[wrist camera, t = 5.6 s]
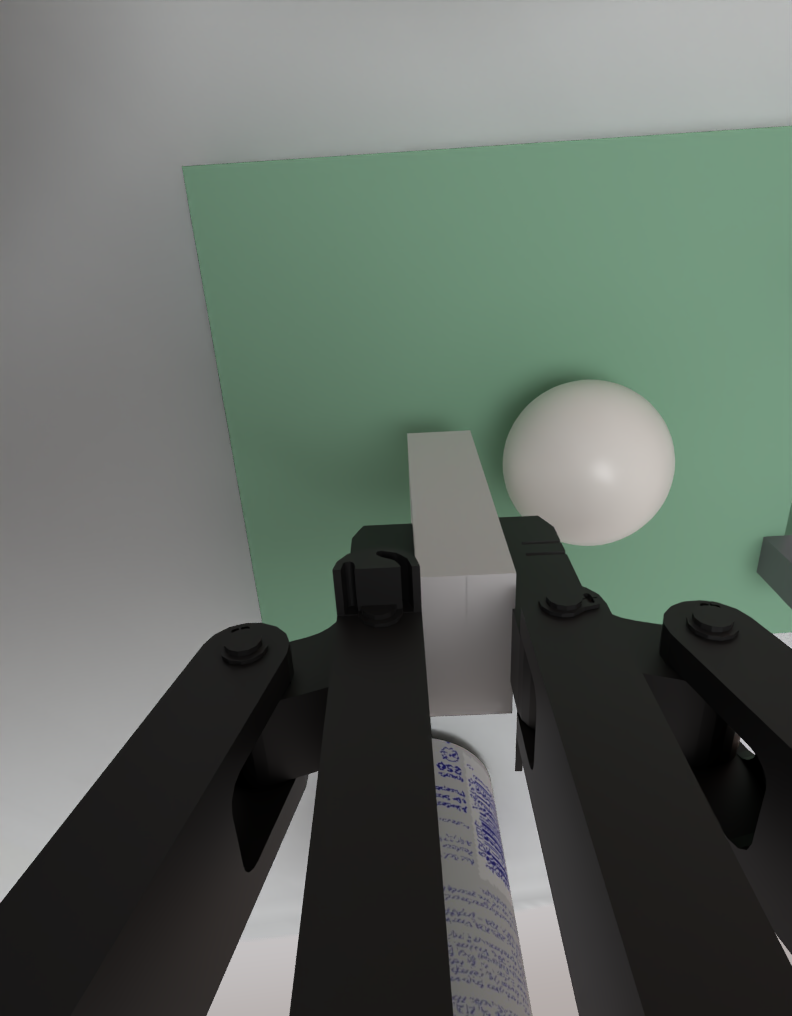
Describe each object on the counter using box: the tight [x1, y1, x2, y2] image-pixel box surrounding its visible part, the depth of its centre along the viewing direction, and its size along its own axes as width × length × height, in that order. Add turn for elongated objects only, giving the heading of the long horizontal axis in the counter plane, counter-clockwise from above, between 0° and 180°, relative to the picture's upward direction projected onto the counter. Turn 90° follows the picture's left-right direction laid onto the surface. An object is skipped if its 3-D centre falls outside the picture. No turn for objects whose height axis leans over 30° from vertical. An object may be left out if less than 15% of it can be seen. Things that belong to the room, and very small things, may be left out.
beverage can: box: [432, 738, 532, 1016], centre depth 20 cm, size 6×6×15 cm
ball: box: [503, 380, 675, 546], centre depth 16 cm, size 4×4×4 cm
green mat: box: [182, 126, 792, 642], centre depth 19 cm, size 24×14×2 cm, turn 93°
